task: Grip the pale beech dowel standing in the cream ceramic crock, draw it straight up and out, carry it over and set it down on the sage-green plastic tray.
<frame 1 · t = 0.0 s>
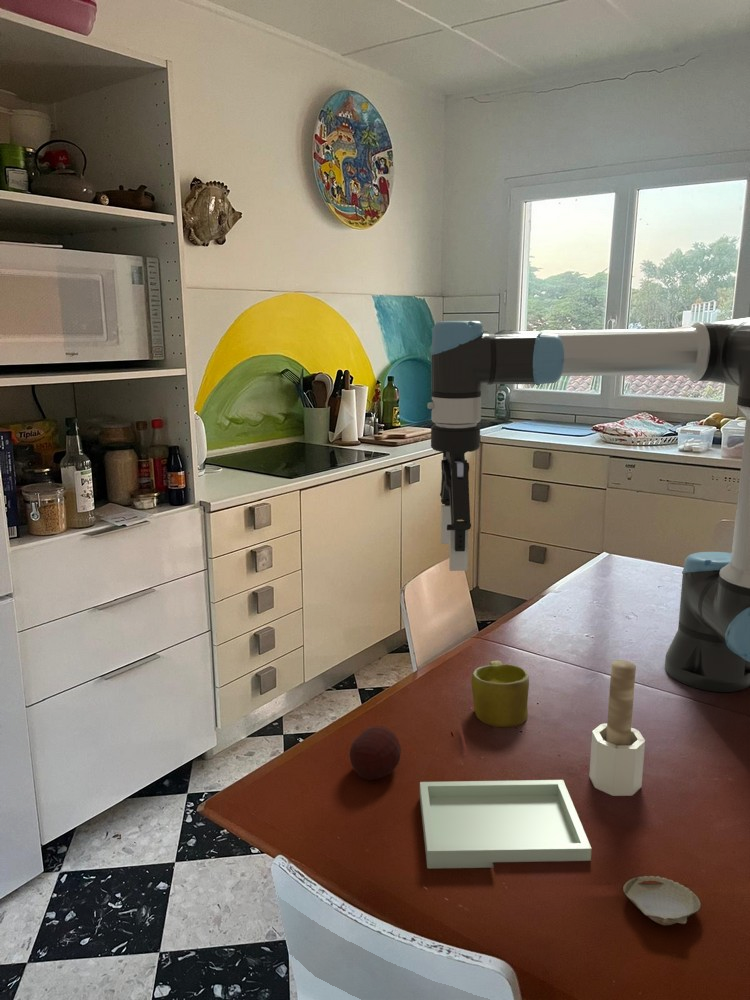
hand: (453, 556, 123), 28 cm above the table, fingers open, 13 cm apart
tray: (499, 829, 101), on the table
mug: (499, 713, 130), on the table
seashell: (659, 912, 87), on the table
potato: (376, 770, 114), on the table
dowel: (615, 781, 109), point 1 cm above the table, touching crock
crock: (614, 786, 110), on the table
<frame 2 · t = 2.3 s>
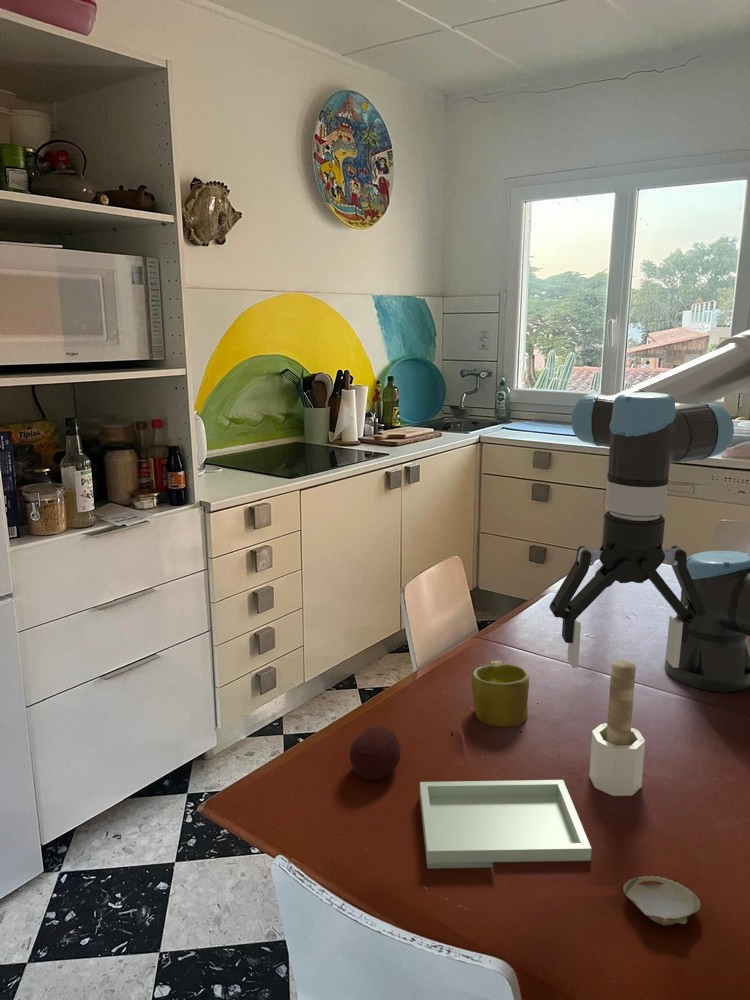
hand: (622, 663, 105), 19 cm above the table, fingers open, 13 cm apart
nothing on the table moved.
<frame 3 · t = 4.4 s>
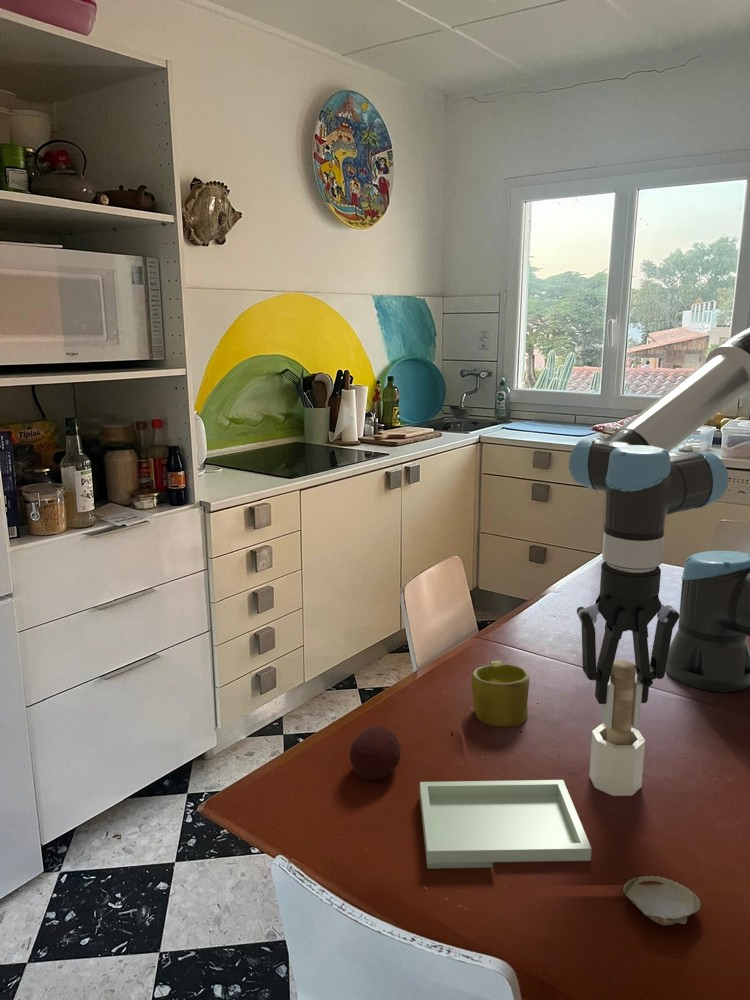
hand: (619, 722, 107), 10 cm above the table, fingers closed on dowel, 3 cm apart
dowel: (615, 781, 109), point 1 cm above the table, touching gripper
everything else where it was.
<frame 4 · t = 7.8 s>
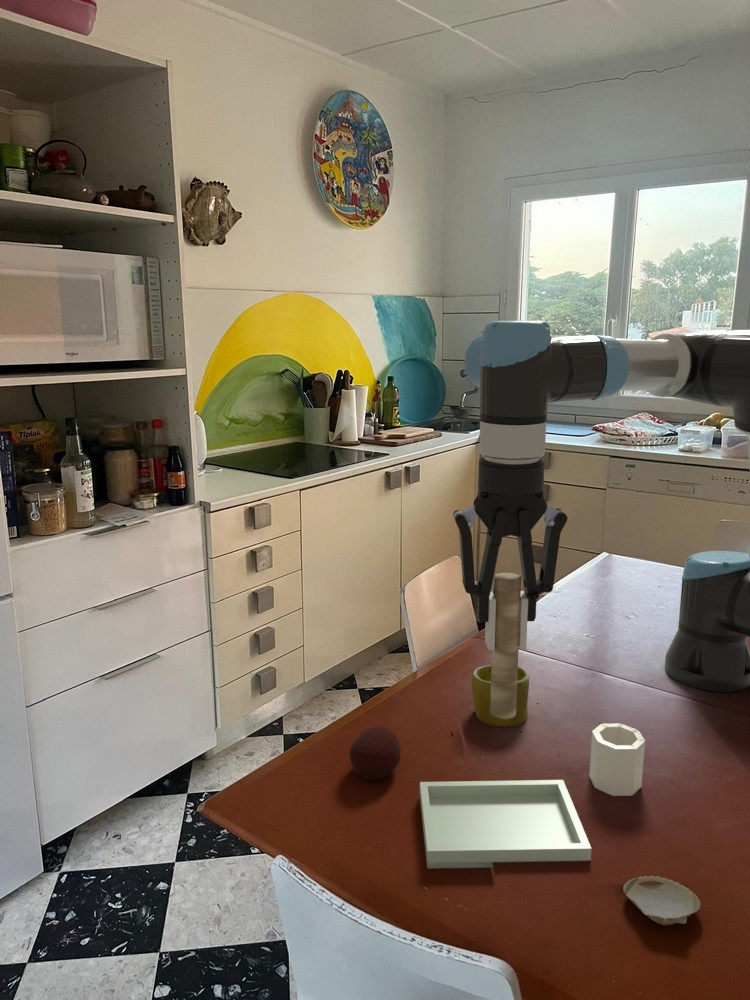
hand: (505, 644, 94), 26 cm above the table, fingers closed on dowel, 3 cm apart
dowel: (503, 712, 97), point 17 cm above the table, touching gripper
everything else where it was.
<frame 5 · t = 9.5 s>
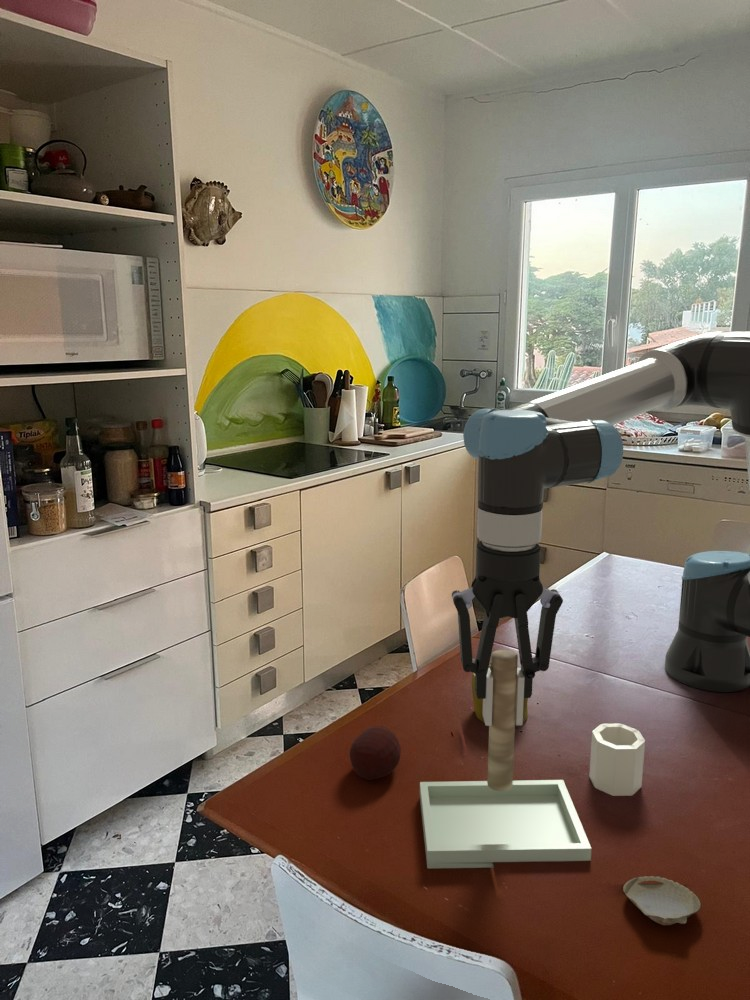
hand: (502, 719, 97), 16 cm above the table, fingers closed on dowel, 3 cm apart
dowel: (499, 783, 99), point 7 cm above the table, touching gripper
everything else where it was.
when the fingers open (11 cm above the table, at t = 11.2 s): dowel drops 1 cm, resting on tray.
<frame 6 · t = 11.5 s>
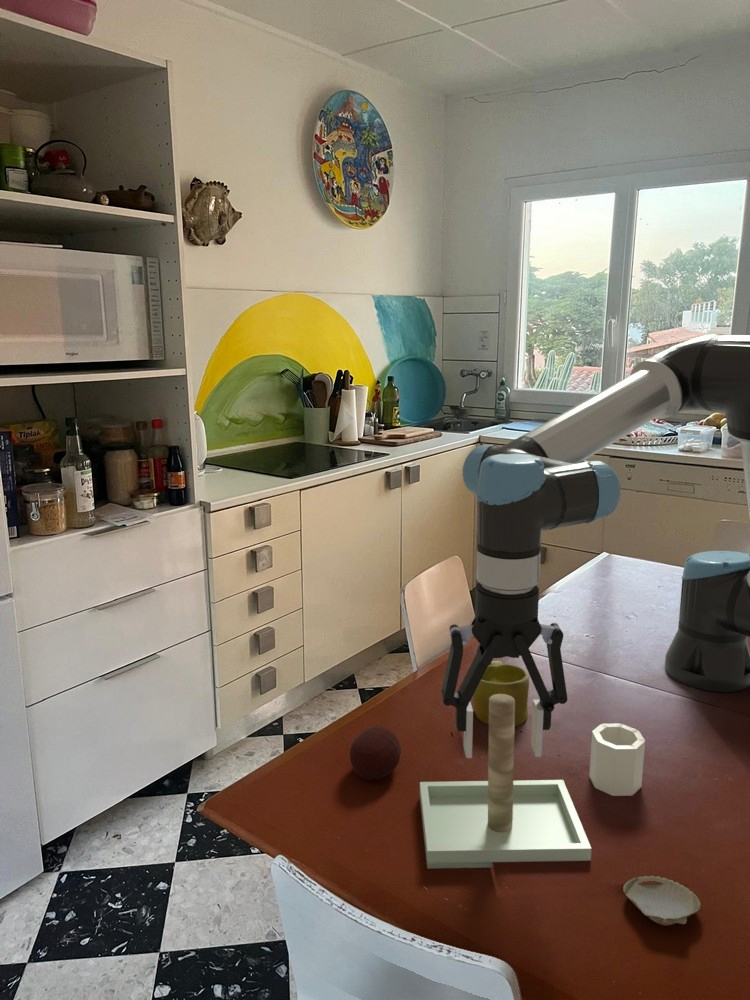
hand: (501, 751, 98), 12 cm above the table, fingers open, 8 cm apart
dowel: (500, 824, 101), point 1 cm above the table, touching tray
everything else where it was.
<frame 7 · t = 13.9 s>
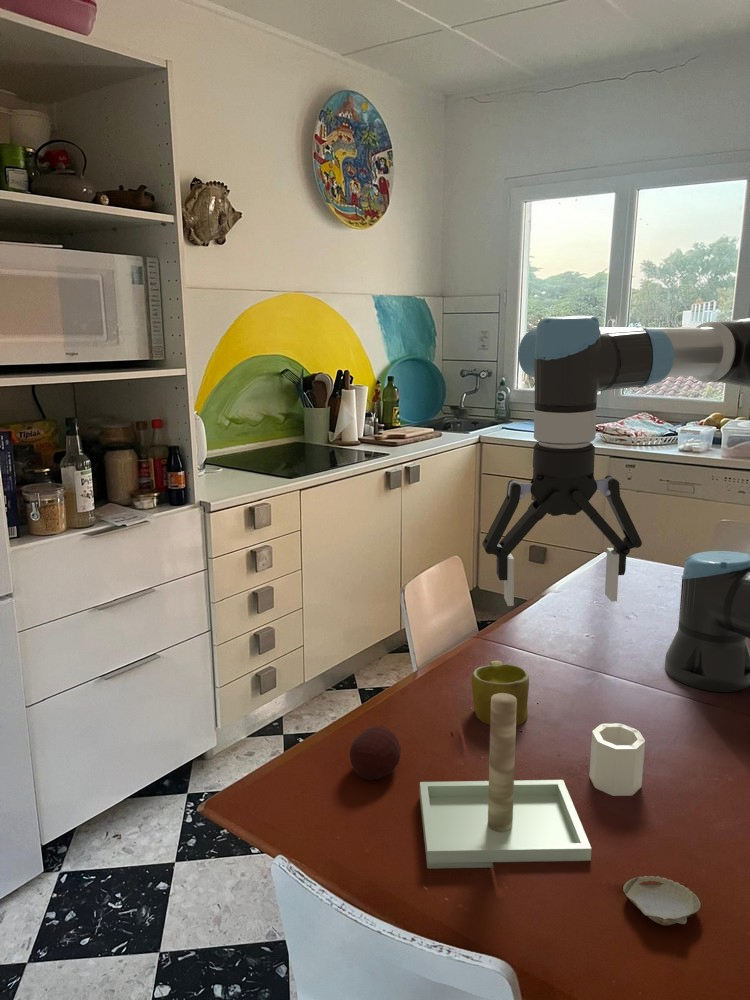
hand: (559, 600, 102), 29 cm above the table, fingers open, 13 cm apart
nothing on the table moved.
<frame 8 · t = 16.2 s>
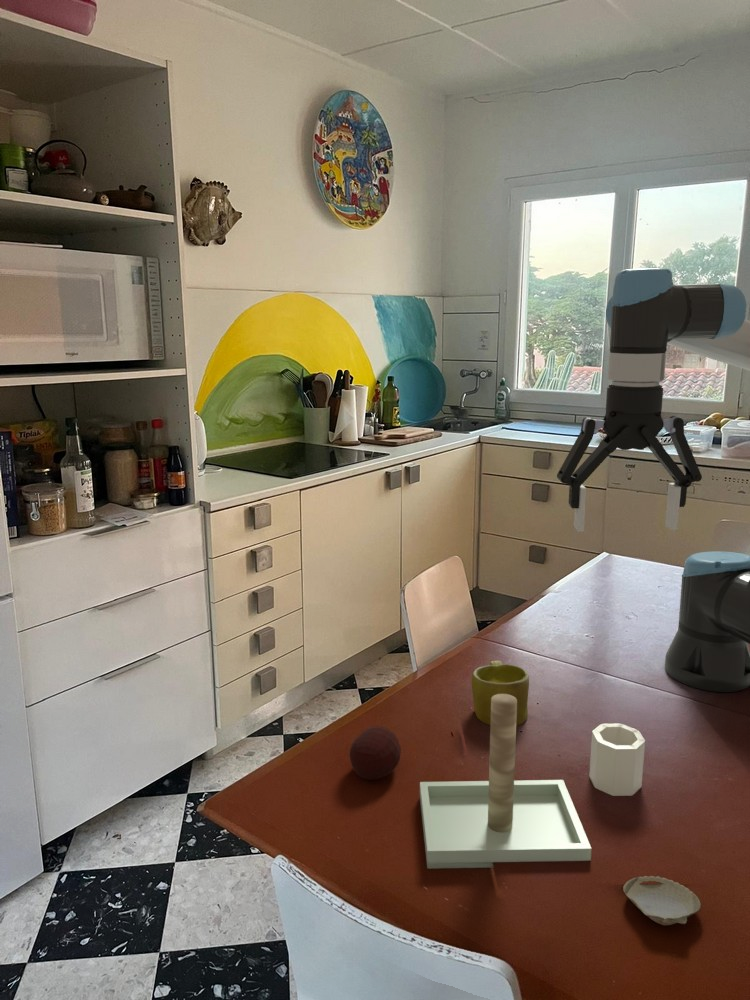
hand: (624, 529, 113), 35 cm above the table, fingers open, 13 cm apart
nothing on the table moved.
at the end: dowel inside the target area on the tray (0.1 cm from its centre), point 0.8 cm above the tray's base; the gripper is holding nothing; dowel touching tray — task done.
